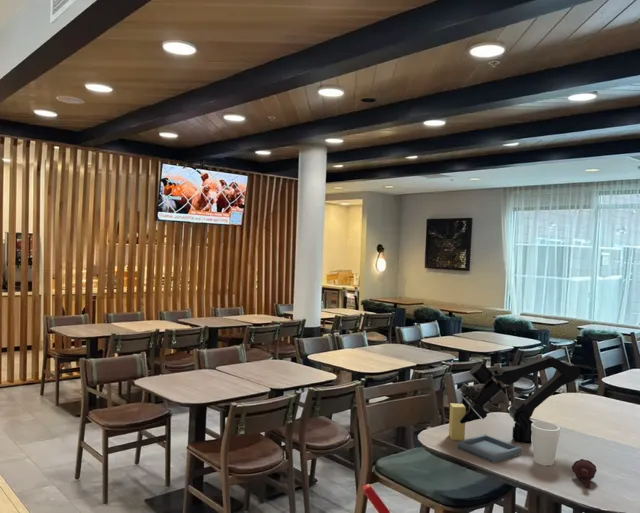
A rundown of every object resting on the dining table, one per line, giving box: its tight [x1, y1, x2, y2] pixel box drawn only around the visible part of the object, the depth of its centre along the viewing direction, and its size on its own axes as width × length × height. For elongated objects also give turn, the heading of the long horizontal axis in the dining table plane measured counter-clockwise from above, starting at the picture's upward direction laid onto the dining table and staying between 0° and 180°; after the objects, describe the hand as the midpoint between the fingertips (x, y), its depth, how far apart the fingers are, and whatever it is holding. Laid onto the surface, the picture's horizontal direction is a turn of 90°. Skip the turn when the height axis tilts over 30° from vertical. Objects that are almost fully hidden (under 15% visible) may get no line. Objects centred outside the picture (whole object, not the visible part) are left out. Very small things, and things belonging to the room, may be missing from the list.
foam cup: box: [531, 421, 561, 466], centre depth 191 cm, size 10×9×13 cm
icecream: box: [571, 458, 597, 489], centre depth 177 cm, size 7×7×15 cm
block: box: [448, 402, 467, 441], centre depth 212 cm, size 5×5×13 cm
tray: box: [457, 433, 522, 464], centre depth 199 cm, size 16×16×2 cm
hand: (457, 418), depth 212 cm, fingers open, 9 cm apart
